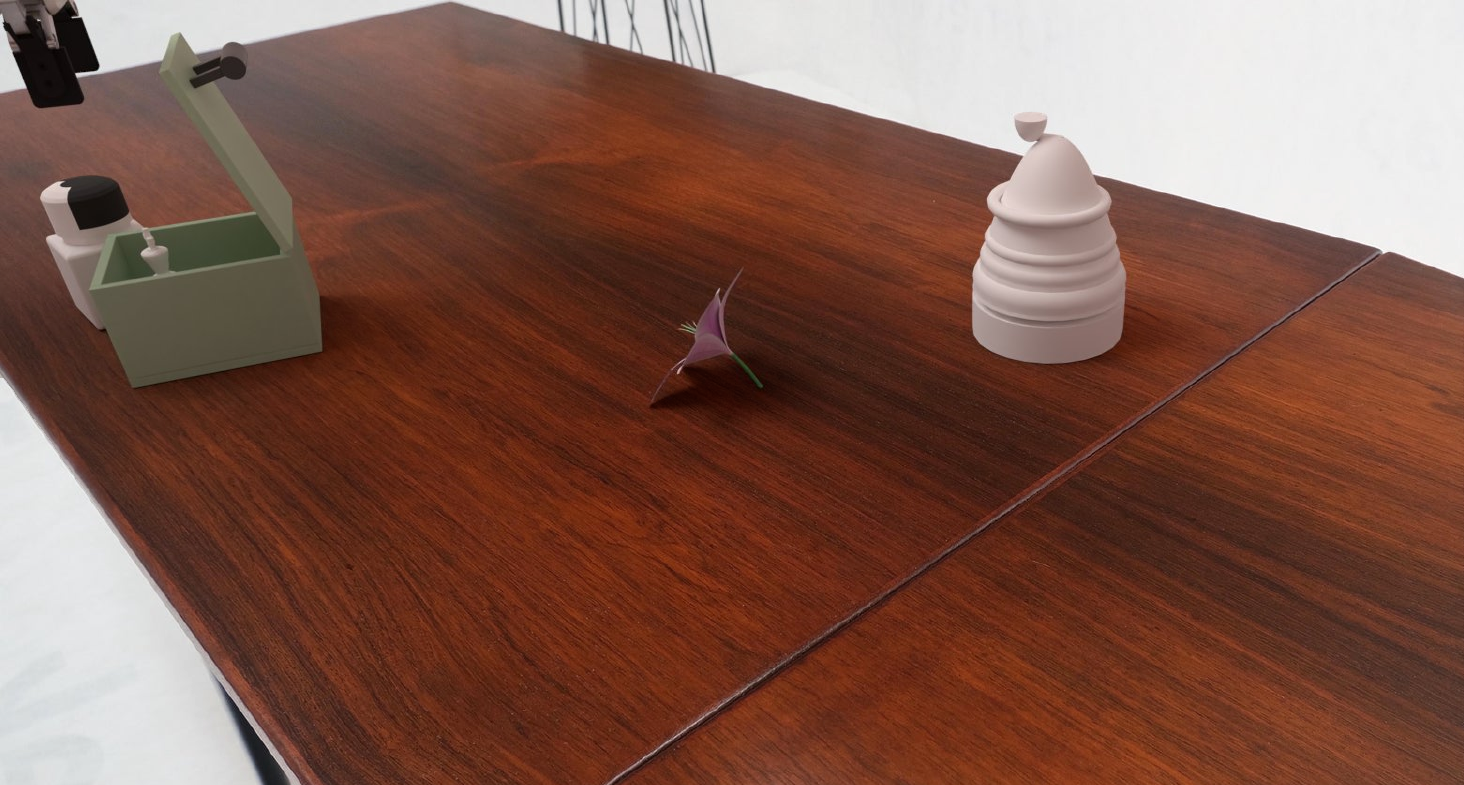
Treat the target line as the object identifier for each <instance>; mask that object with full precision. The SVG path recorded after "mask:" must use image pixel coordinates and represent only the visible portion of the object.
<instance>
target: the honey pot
mask: <svg viewBox="0 0 1464 785" xmlns="http://www.w3.org/2000/svg"><path fill="white" fill-rule="evenodd" d="M1013 120H1014V127H1015V130H1016V132H1017V134H1018V136H1019V137H1020V138H1021V140H1023V141H1024V142H1027V143H1033V142H1035V143H1034V144H1033V145H1032V146H1031V147H1030V148H1028V150H1027V151H1026V152H1025V154H1024V155H1023V156H1022V158H1021V160H1020V161H1019V163H1018V164H1017V166H1016V168H1015V170H1014V171H1013V173H1012V175H1011V177H1010V179H1009V180H1007V181H1004V182H1002V183H999V184H998V185H997V186H995V187H994V188H993V189H991V191H990V192H989V194H988V195H987V198H986V203H987V204H986V205H987V209H988V211H990V212H991V214H993V219H992V221H991V223H990V224H989V226H988V227H987V229H986V231H985V233H984V240H985V241H984V242H983V244H982V246H981V248H980V252H979V255H980V256H979V257H978V259H977V261H976V262H975V264H974V267H973V271H972V285H971V286H972V292H971V293H972V294H971V298H972V299H971V301H972V302H971V311H972V313H971V318H972V319H971V322H972V324H971V327H972V335H973V337H974V338H975V339H976V341H977V342H978V343H979V345H981V346H982V347H984V348H985V349H987V350H988V351H990V352H991V353H994V354H996V355H998V356H1001V357H1004V358H1006V359H1011V360H1015V361H1019V362H1023V363H1033V364H1043V365H1045V364H1049V365H1050V364H1051V365H1052V364H1068V363H1074V362H1080V361H1081V362H1082V361H1085V360H1088V359H1092V358H1095V357H1097V356H1100V355H1101V356H1102V355H1103V354H1104V353H1106V352H1108V351H1110V350H1111V349H1113V348H1114V347H1115V346H1116V345H1117V344H1118V342H1119V341H1120V340H1121V339H1122V338H1121V337H1122V333H1123V328H1124V317H1125V316H1124V314H1125V303H1126V302H1125V301H1126V295H1125V294H1126V283H1127V271H1126V268H1125V266H1124V264H1123V262H1122V260H1121V259H1120V258H1121V251H1120V249H1119V246H1118V244H1117V240H1118V237H1117V233H1116V231H1115V229H1114V227H1113V226H1112V225H1111V221H1110V218H1109V214H1108V213H1109V211H1110V209H1111V206H1112V203H1113V202H1112V198H1111V195H1110V192H1108V190H1106V188H1104V187H1103V186H1101V185H1099V184H1098V183H1097V181H1096V178H1095V176H1094V173H1093V172H1092V169H1091V167H1090V166H1089V164H1088V162H1087V160H1086V159H1085V156H1084V155H1083V154H1082V153H1081V150H1080V149H1079V148H1078V147H1077V146H1076V145H1075V144H1074V143H1073V142H1072V141H1071V140H1070V139H1069V138H1067V137H1065V136H1064V135H1062V134H1054V133H1045V130H1046V128H1047V125H1048V116H1047V114H1045V113H1042V112H1037V111H1028V112H1027V111H1026V112H1020V113H1018V114H1015V115H1014V119H1013Z"/></svg>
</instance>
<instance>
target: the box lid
mask: <svg viewBox="0 0 1464 785" xmlns="http://www.w3.org/2000/svg"><path fill="white" fill-rule="evenodd" d="M248 56H249V54H248V51H247V49H246V47H245V46H244V45H243V44H241V43H239V42H237V41H229V42H227V43H225V44H224V45H223V47H222V50H221V54H219V55H216V56H214V57H212V58H209V59H206V60H204V61H200V59H199V58H198V57H197V55H196V53H195V52H194V51H193V49H192V48H191V46H190V44H189V43H188V42H187V40H186V38H185V37H184V36H183V34H182V32H180V31H179V32H176V33H174V34H172V35H170V38H169V41H168V43H167V46H166V50H165V52H164V55H163V59H162V61H161V65H160V68H159V70H158V75H159V77H160V78H161V80H162V81H163V82H164V84H165V85H166V87H167V88H168V89H169V91H170V92H171V94H172V95H173V97H174V98H175V99H176V101H177V102H178V104H179V105H180V107H181V108H182V110H183V111H184V112H185V114H186V115H187V117H188V119H189V120H190V121H191V122H192V124H193V125H194V127H195V128H196V130H197V131H198V132H199V134H200V135H201V137H202V138H203V140H204V141H205V142H206V144H207V145H208V148H210V149H211V151H212V152H213V154H214V156H215V157H216V158H217V160H218V161H219V163H220V164H221V165H222V167H223V168H224V170H225V171H226V172H227V174H228V176H229V177H230V178H231V180H232V181H233V183H234V184H235V185H236V187H237V188H238V190H239V191H240V193H241V194H242V196H243V197H244V198H245V200H246V201H247V203H248V204H249V205H250V207H251V208H252V209H253V212H256V214H257V215H258V217H259V218H260V220H261V221H262V222H263V224H264V225H265V227H266V228H267V230H268V231H269V232H270V234H271V235H272V237H273V238H274V240H275V241H276V242H277V244H278V245H279V247H280V248H281V250H282V251H283V252H287V251H289V250H291V249H293V224H292V214H293V198H292V196H291V195H290V193H289V191H288V190H287V189H286V187H285V186H284V184H283V183H282V182H281V180H280V178H279V177H278V175H277V174H276V172H275V171H274V169H273V168H272V166H271V165H270V163H269V162H268V160H267V159H266V158H265V156H264V155H263V153H262V151H261V150H260V148H259V147H258V146H257V144H256V143H255V141H254V140H253V138H252V137H251V135H250V134H249V132H248V131H247V129H246V128H245V126H244V125H243V123H242V121H241V120H240V119H239V117H238V116H237V114H236V113H235V111H234V110H233V108H232V107H231V106H230V104H229V103H228V100H226V98H225V96H224V94H223V93H222V92H221V90H220V89H219V88H218V86H217V85H216V83H215V81H217V80H219V79H222V78H224V77H225V78H227V79H229V80H232V81H238V80H241V79H242V78H244V77H245V76H246V73H247V68H248V67H247V65H248V58H249V57H248Z"/></svg>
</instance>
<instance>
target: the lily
mask: <svg viewBox="0 0 1464 785" xmlns="http://www.w3.org/2000/svg"><path fill="white" fill-rule="evenodd" d="M744 267H745V266H742V268H741V269H740V271H739V272H738V273H737V275H736V276H735V277H734V278H733V280H732V282H731V284H730V285H729V286H728V287H727V290H726V291H725V294H724V296H723V297H722V300H720V295H719V294H720V290H721V288H720V287H719V288H718V289H717V290H716V293H715V295H714V297H713V298H712V300H711V302H709V304H708V305H707V307H706V309H705V310H704V312H703V314H702V315H701V317H700V318H699V320H698V322H697V325H696V321H694V320H691V322H692V324H693V325H694V326H695V328H694V327H693V326H692V325H691V324H689V323H688V322H687V321H686V320H685V324H686V325H685V324H683V323H681V324H680V326H681V327H683V328H676V330H678V331H685V332H688V333H690V334H691V333H692V334H694V341H695V342H694V344H693V345H692V347H691V348H690V350H689V352H688V354H687V355H686V357H684V359H681V361H679V362H677V364H675V366H673V367H672V368H671V370H670V371H669V372H668V373H667V374H666V375H665V376H664V378H663V380H662V381H661V383H660V385H659V386H658V388H657V389H656V391H655V393H654V394H653V397H652V398H651V401H650V403H649V404H648V407H650V406H651V405H652V402H653V401H654V399H655V398H656V395H657V394H658V393H659V391H660V390H661V389H662V387H663V385H664V383H665V382H666V380H667V379H668V378H669V377H670V376H671V374H672V373H673V372H674V371H675V370H676V369H677V368H679V369H678V370H677V371H676V374H677V375H679V374H680V373H681V371H682V369H683V367H685V366H686V365H689V364H692V363H693V364H694V363H696V362H699V361H702V360H706V359H711V358H713V357H717V356H721V355H728V356H730V357H731V358H732V359H733V360H735V361H736V363H738V364H739V365H740V367H741V368H743V369H744V371H745V372H746V373H747V374H748V375H749V377H750V378H751V379H752V380H753V381H754V383H755V384H756V385H757V386H758V388H759V389H762V388H763V387H764V385H763V384H762V383H761V382H760V380H759V379H758V378H757V377H756V375H755V374H754V373H753V371H751V369H750V368H749V367H748V366H747V365H746V364H745V363H744V361H742V359H740V358H739V357H738V356H737V355H736V354H735V353H734V352H733V351H732V350H731V349H730V347H729V346H728V341H727V337H726V331H725V322H724V314H725V306H726V303H727V302H726V301H727V299H728V297H729V294H730V292H731V290H732V289H733V287H734V285H735V283H736V281H737V279H738V278H739V276H740V275H741V273H742V272H743V269H744ZM687 325H688V326H687ZM684 328H686V329H684ZM679 366H680V367H679Z"/></svg>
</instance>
